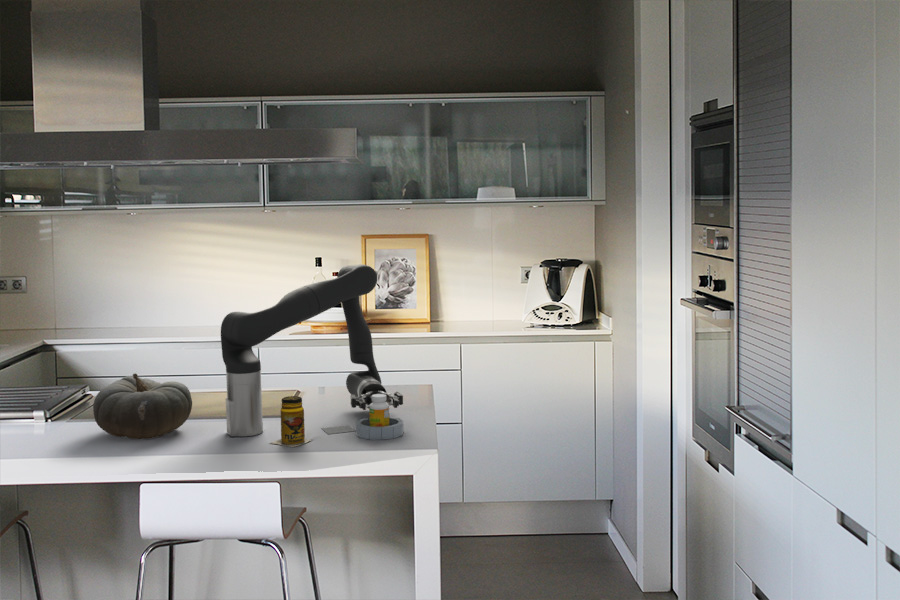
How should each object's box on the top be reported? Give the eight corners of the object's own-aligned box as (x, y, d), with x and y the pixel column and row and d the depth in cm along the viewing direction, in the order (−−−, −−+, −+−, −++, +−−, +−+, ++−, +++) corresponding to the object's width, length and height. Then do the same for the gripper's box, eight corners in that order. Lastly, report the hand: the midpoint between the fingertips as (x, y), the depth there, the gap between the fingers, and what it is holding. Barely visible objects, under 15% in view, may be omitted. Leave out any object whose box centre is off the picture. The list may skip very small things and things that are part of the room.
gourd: (115, 412, 250) (120, 356, 246) (200, 426, 250) (206, 369, 246) (77, 444, 225) (81, 381, 222) (171, 459, 225) (177, 396, 222)
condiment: (294, 447, 220) (293, 401, 219) (269, 443, 224) (267, 398, 223) (312, 440, 227) (311, 396, 225) (287, 437, 231) (285, 393, 229)
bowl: (365, 441, 225) (365, 429, 225) (351, 430, 236) (351, 419, 236) (409, 436, 230) (409, 424, 230) (393, 426, 241) (393, 414, 241)
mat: (328, 435, 233) (328, 433, 233) (321, 429, 239) (321, 428, 239) (356, 432, 236) (356, 430, 236) (348, 426, 243) (348, 425, 243)
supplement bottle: (365, 431, 232) (365, 396, 231) (376, 427, 237) (375, 392, 236) (382, 434, 230) (382, 398, 229) (393, 429, 234) (392, 394, 233)
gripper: (346, 381, 244) (353, 393, 229) (395, 379, 248) (406, 390, 232) (347, 407, 245) (354, 420, 229) (396, 404, 248) (406, 417, 233)
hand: (380, 405), depth 231 cm, fingers open, 8 cm apart
